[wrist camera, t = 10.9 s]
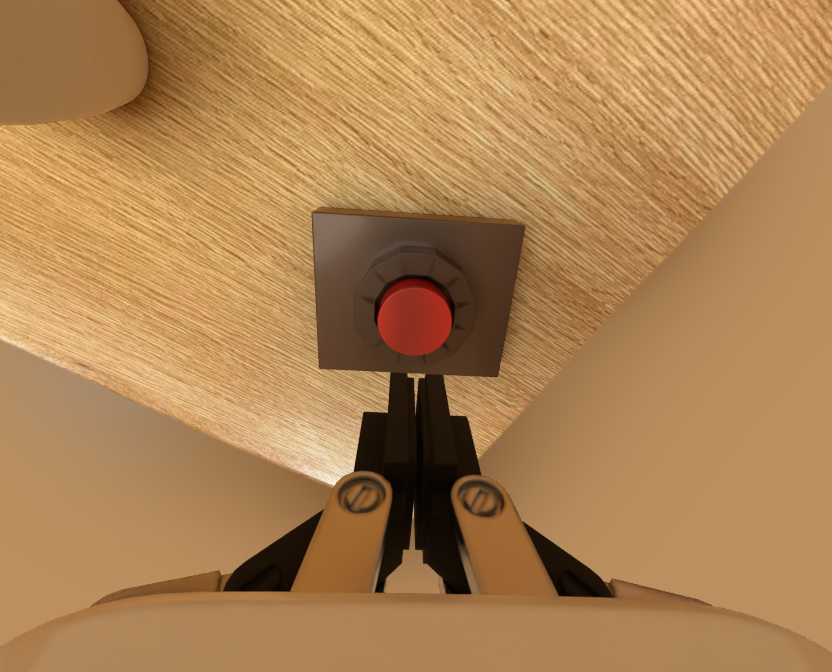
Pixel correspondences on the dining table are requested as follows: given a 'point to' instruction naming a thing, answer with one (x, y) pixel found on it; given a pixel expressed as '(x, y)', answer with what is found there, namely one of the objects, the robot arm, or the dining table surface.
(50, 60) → the cup
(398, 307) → the button
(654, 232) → the dining table surface
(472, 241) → the button block
